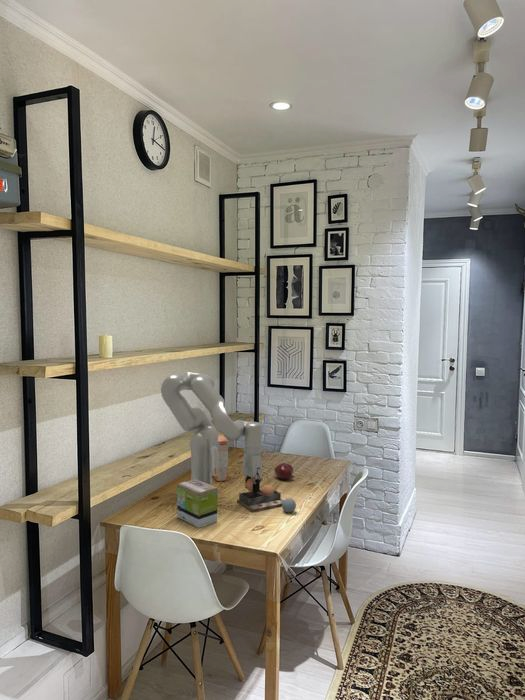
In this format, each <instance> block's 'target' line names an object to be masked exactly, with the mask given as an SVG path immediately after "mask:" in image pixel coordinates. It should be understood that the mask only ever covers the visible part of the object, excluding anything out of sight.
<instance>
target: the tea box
mask: <svg viewBox="0 0 525 700" xmlns="http://www.w3.org/2000/svg"><path fill="white" fill-rule="evenodd" d="M176 489H177V490H176V491H177V495H176V496H177V498H176V499H177V501H176V502H177V503H176V506H177V509H176V510H177V511H176V512H177V513H176V514H177V515H176V516H177V518H179V519H181V520H183V521H184V522H187V523H188V524H191V525H192V526H194V527H196V528H197V529H200V528H202V526H203V527H205V526H204V525H206V526H208V524H209V525H212V524H214V522H215V523H217V522H218V487H217V486H214V485H213V484H212V485H210V484H207V483H205V482H202V481H200V480H197V479H193V480H191V479H190V480H187V481H183V482H180V483H177V487H176ZM211 523H212V524H211ZM199 527H200V528H199Z"/></svg>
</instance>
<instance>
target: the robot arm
mask: <svg viewBox="0 0 525 700" xmlns="http://www.w3.org/2000/svg"><path fill="white" fill-rule="evenodd" d="M184 390H185V391H186V390H187V391H191V392H193V394H194V395H195V396H196V397H197V399H198V400H199V401H200V402H201V404H203V405H204V407H205V408H206V410H207V411H208V413H209V414H210V417H211V418H212V419H210V418H209V417H208V416H209V415H207V414H206V412H205V411H204V410H203V409H201V408H199V407H191V405H190V403H189V402H188V400H187V399H186V398H185V397H184V396H183V395H182V394H181V391H184ZM160 393H161V397H162V400H163V401H164V402H165V404H166V406H167V407H168V408H169V410H170V412H171V413H172V415H173V416H174V418H175V419H176V421H177V423H178V425H179V426H180V427H181V429H182V430H183V431H185V432H192V431H194V433H193V434H192V435H191V438H189V439H190V440H189V449H190V457H191V458H190V460H191V461H190V462H191V463H190V466H191V469H190V470H191V471H190V472H191V475H190V480H193V479H197V480H200V481H202V482H205V483H207V484H210V485H212V486H213V477H212V454H211V447H212V446H214V445H215V444H216V443H217V441H218V435H219V433H220V434H222V435H223V437H224V438H225V439H227V440H228V441H234V442H235V441H237V440H239V439H240V438H242V437H244V453H243V458H242V473H243V474H244V479H245V487H244V488H245V489H247V488H246V482H247V480H248V479H250V478H253V481H254V484H253V493H256V492H259V491H260V490H261V489H260V487H261V486H260V484H261V482H262V480H263V479H264V478H263V475H262V474H263V465H262V463H263V462H262V436H263V435H262V433H263V432H262V431H263V429H262V427H263V425H262V424H261V423H260V422H257V421H245V420H242V419H237V420H232V419H231V418H230V416H229V414H228V413H227V411H226V408H225V406H226V405H225V399H224V398H223V396H222V395H220V393H219V392H218V391H217V389H215V379H214V378H213V377H212V376H211V375H210V374H205V373H197V372H190V371H179V372H176V373H175V372H174V373H172V374H169V375H168V376H166V377H165V379H164V380H163V382H162V384H161V387H160ZM211 420H212V421H211ZM212 422H213V423H212ZM215 426H216V427H215ZM216 428H217V429H218V430H217V429H216ZM218 431H219V433H218Z"/></svg>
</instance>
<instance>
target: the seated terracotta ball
mask: <svg viewBox="0 0 525 700" xmlns="http://www.w3.org/2000/svg"><path fill="white" fill-rule="evenodd" d="M260 490H261V494H263V495H264V496H266V495H271V494H274V490H275V489H274V487H273V486H271V485H269V484H266V485H264V486H262V488H261V489H260Z"/></svg>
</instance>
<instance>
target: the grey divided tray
mask: <svg viewBox="0 0 525 700" xmlns="http://www.w3.org/2000/svg"><path fill="white" fill-rule="evenodd" d="M281 494H282V493H281V492H279V491H277V490H276V489H274V494H271V495H266V496H264V495H263V494H261V489H260V491H259V492H256V493H253V492H251V491H246V492H240V493H239V495H238V499H236V503H237V504H238V505H241V507H244V508H245V509H246V510H248V511H249V512H251V513H252V514H253V513H257V512H263V511H266V510H272V509H277V508H282V507H281V506H282V502H283V501H284V500H285V499H282V498H281ZM276 507H277V508H276Z"/></svg>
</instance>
